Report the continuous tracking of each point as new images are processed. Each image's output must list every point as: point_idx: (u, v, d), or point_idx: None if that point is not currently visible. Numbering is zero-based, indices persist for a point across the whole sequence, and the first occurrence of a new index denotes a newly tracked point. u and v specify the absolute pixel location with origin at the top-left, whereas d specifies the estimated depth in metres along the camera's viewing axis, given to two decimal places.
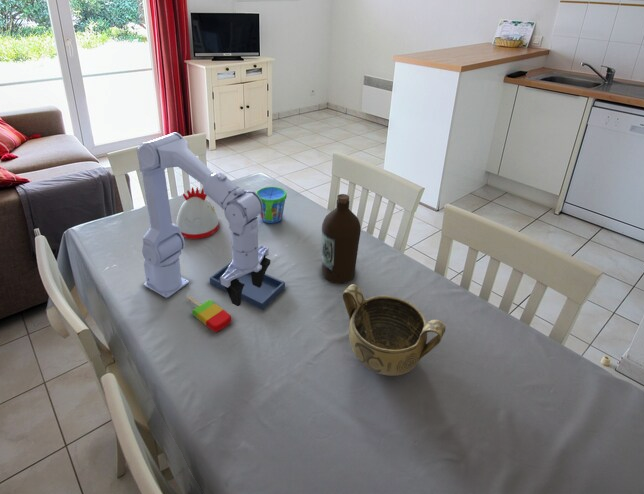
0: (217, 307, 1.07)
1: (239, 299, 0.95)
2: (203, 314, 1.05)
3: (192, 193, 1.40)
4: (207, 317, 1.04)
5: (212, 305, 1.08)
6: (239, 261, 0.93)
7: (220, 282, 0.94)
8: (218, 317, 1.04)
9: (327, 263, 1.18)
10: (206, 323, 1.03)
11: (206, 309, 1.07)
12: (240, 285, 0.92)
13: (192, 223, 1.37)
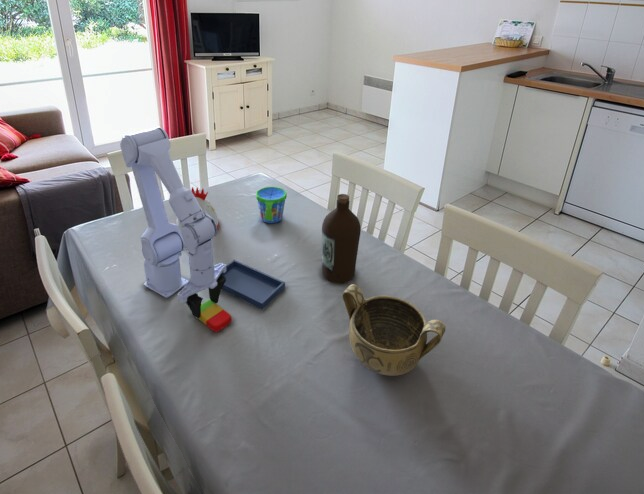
0: (217, 307, 1.07)
1: (198, 312, 1.03)
2: (204, 314, 1.05)
3: None
4: (207, 317, 1.04)
5: (212, 305, 1.08)
6: (195, 279, 1.01)
7: None
8: (218, 317, 1.04)
9: (327, 263, 1.18)
10: (206, 323, 1.03)
11: (206, 309, 1.07)
12: (198, 299, 1.00)
13: None
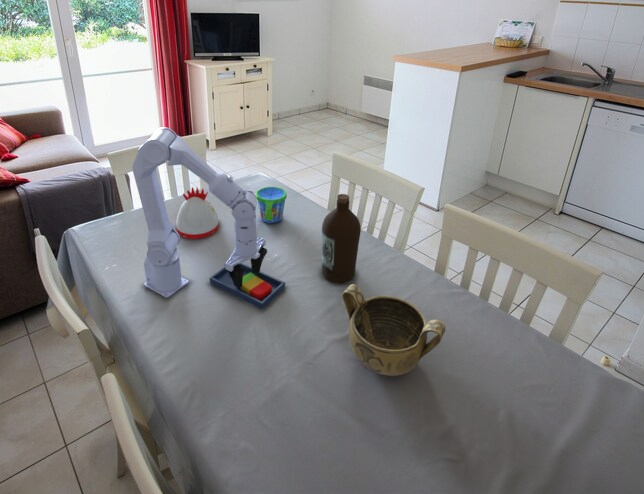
0: (258, 279, 1.17)
1: (240, 282, 1.12)
2: (246, 284, 1.15)
3: (192, 193, 1.40)
4: (250, 287, 1.14)
5: (253, 277, 1.18)
6: (240, 250, 1.10)
7: None
8: (260, 287, 1.14)
9: (327, 263, 1.18)
10: (249, 292, 1.13)
11: (248, 280, 1.16)
12: (241, 270, 1.09)
13: (192, 223, 1.37)
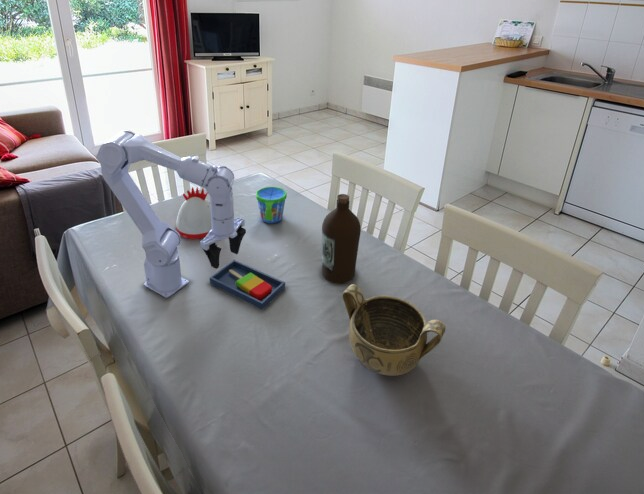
0: (258, 279, 1.17)
1: (217, 262, 1.08)
2: (246, 284, 1.15)
3: (192, 193, 1.40)
4: (250, 287, 1.14)
5: (253, 277, 1.18)
6: (217, 228, 1.06)
7: None
8: (260, 287, 1.14)
9: (327, 263, 1.18)
10: (249, 292, 1.13)
11: (248, 280, 1.16)
12: (217, 249, 1.06)
13: (192, 223, 1.37)
